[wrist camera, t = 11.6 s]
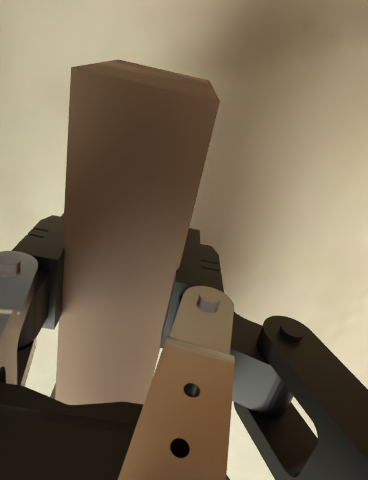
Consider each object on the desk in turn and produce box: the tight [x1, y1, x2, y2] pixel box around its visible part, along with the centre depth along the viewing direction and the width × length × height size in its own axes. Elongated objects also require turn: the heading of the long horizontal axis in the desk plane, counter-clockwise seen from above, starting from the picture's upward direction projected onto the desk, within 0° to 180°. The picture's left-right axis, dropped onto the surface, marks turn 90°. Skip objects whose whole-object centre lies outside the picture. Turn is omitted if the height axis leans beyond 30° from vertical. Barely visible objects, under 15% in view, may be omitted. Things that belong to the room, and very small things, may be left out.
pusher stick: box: [50, 60, 219, 405], centre depth 13 cm, size 6×17×5 cm, turn 168°
